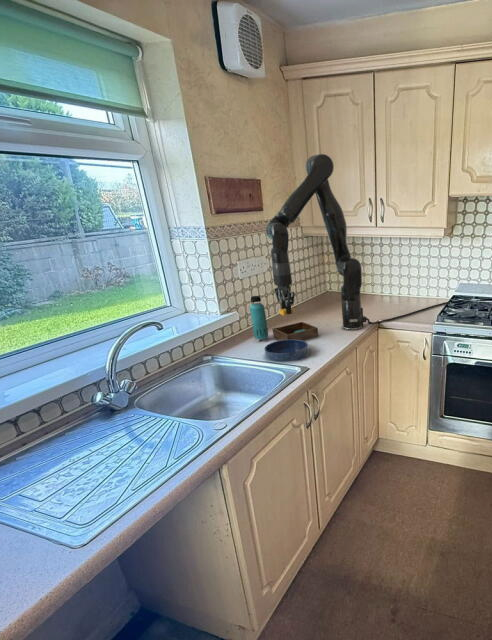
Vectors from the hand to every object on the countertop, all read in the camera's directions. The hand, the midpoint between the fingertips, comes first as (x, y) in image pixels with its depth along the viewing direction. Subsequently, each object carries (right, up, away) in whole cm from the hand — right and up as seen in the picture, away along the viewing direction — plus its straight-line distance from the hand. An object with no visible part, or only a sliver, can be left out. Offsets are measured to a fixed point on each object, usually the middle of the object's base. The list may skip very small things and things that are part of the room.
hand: (286, 312), depth 179 cm
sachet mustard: (0, 0, 0) cm, 0 cm away
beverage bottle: (-13, -12, +6) cm, 18 cm away
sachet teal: (+4, -9, +9) cm, 14 cm away
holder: (+2, -10, +8) cm, 13 cm away
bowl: (+3, -19, -12) cm, 23 cm away
